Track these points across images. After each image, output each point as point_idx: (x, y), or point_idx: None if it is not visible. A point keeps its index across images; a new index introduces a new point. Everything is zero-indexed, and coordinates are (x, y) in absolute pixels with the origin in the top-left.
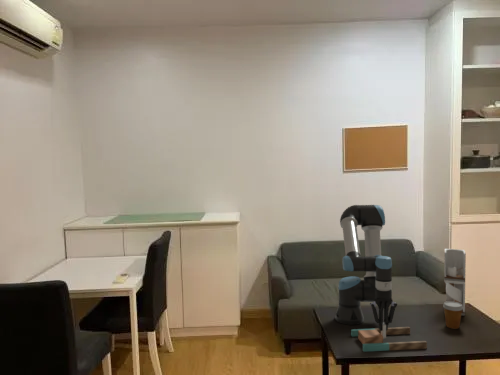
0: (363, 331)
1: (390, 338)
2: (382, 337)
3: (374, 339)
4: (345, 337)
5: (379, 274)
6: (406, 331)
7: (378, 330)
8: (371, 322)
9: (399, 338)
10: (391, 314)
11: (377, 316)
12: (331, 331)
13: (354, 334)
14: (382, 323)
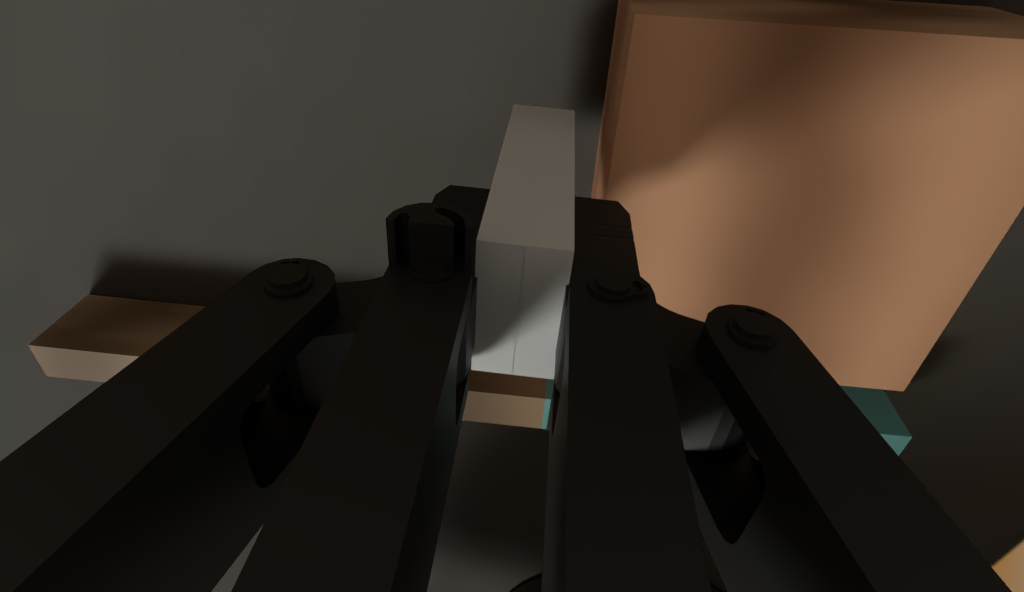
0: (852, 340)
1: (384, 221)
2: (649, 14)
3: (837, 19)
4: (980, 368)
5: None
6: (115, 319)
7: (501, 382)
8: (445, 565)
9: (254, 196)
10: (70, 515)
11: (866, 536)
12: (990, 516)
13: (848, 389)
14: (585, 284)
